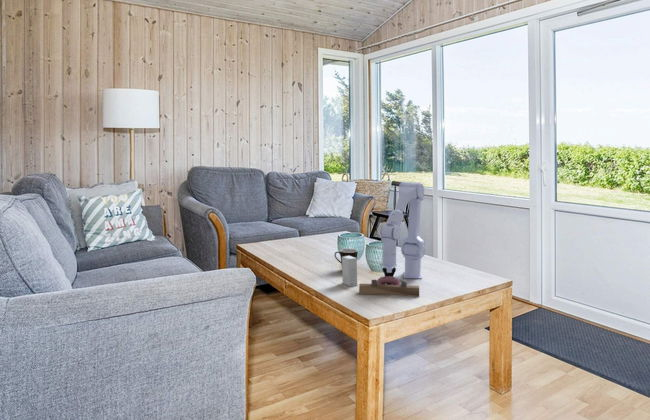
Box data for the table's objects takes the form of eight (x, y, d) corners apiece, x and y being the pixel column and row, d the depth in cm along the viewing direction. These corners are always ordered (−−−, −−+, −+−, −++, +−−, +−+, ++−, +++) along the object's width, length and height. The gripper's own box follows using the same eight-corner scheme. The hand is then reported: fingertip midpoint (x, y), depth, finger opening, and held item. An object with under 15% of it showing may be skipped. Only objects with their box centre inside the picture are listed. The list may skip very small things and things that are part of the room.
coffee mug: (361, 271, 219) (361, 251, 217) (346, 274, 214) (346, 253, 213) (347, 266, 228) (347, 246, 227) (333, 268, 224) (333, 248, 223)
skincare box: (357, 285, 197) (357, 258, 195) (348, 286, 195) (349, 259, 193) (350, 281, 202) (350, 255, 200) (341, 283, 200) (341, 256, 198)
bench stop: (359, 291, 188) (359, 278, 187) (418, 294, 185) (418, 280, 184) (359, 293, 185) (359, 280, 184) (419, 296, 182) (419, 283, 181)
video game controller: (400, 293, 189) (400, 277, 192) (400, 292, 185) (400, 275, 187) (376, 293, 191) (376, 276, 193) (376, 291, 186) (376, 274, 189)
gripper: (380, 249, 198) (379, 279, 200) (379, 257, 184) (379, 289, 186) (396, 249, 197) (395, 280, 199) (397, 257, 183) (396, 290, 185)
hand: (388, 284), depth 193 cm, fingers closed
